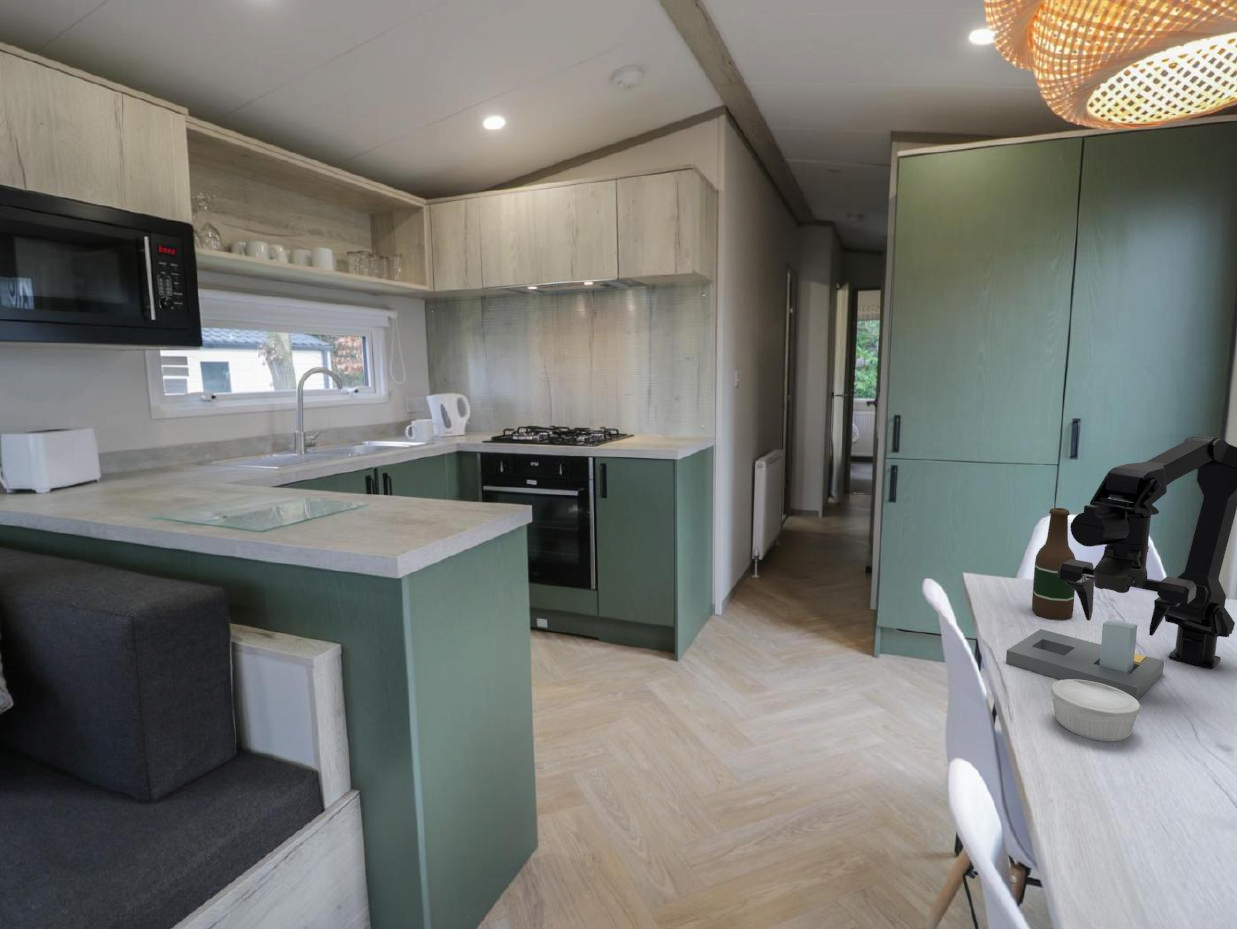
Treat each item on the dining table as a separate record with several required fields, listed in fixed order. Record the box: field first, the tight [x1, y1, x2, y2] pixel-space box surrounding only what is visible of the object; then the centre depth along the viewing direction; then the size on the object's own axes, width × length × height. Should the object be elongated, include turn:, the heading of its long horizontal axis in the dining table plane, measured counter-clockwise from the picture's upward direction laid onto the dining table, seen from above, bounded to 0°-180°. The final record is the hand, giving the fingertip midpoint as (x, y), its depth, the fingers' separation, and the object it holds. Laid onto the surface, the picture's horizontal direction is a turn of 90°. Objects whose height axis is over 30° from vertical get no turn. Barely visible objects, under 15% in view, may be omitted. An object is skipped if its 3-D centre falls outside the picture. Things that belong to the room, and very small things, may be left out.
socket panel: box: [1005, 628, 1165, 701], centre depth 125 cm, size 16×20×3 cm
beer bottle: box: [1031, 507, 1077, 621], centre depth 150 cm, size 8×8×24 cm
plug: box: [1099, 618, 1138, 674], centre depth 120 cm, size 4×4×10 cm
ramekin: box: [1050, 679, 1141, 743], centre depth 105 cm, size 11×11×5 cm
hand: (1119, 627), depth 120 cm, fingers open, 9 cm apart
